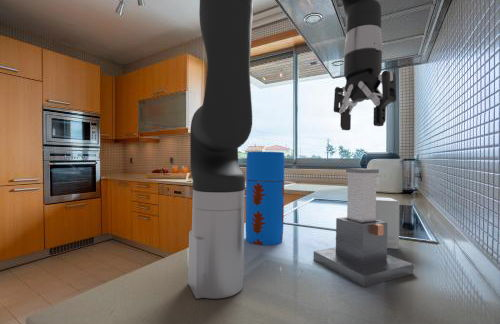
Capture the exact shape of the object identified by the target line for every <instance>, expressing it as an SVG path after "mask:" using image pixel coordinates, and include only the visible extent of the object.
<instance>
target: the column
mask: <svg viewBox="0 0 500 324" xmlns="http://www.w3.org/2000/svg"><path fill="white" fill-rule="evenodd" d="M345 173H347V200H346V201H347V206H346V207H347V208H346V210H347V215H346V217H347V220H350V221H353V222H357V223H361V224H367V223H375V222H376V197H377V174H379V173H380V172H379V168H378V169H377V168H346V169H345Z"/></svg>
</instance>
